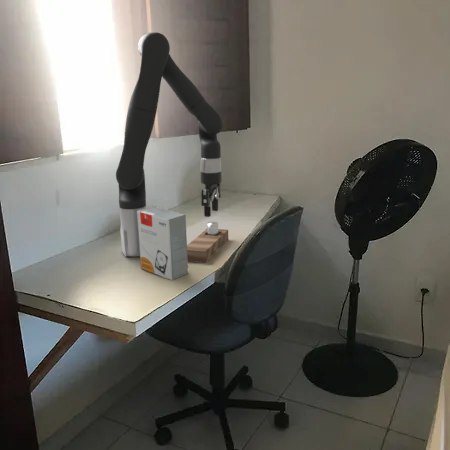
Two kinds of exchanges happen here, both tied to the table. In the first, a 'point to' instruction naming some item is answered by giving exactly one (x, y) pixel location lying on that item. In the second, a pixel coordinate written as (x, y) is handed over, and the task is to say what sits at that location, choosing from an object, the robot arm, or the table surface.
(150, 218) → the hard drive box
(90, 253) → the table surface
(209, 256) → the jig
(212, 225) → the brushed metal cylinder
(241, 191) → the table surface
